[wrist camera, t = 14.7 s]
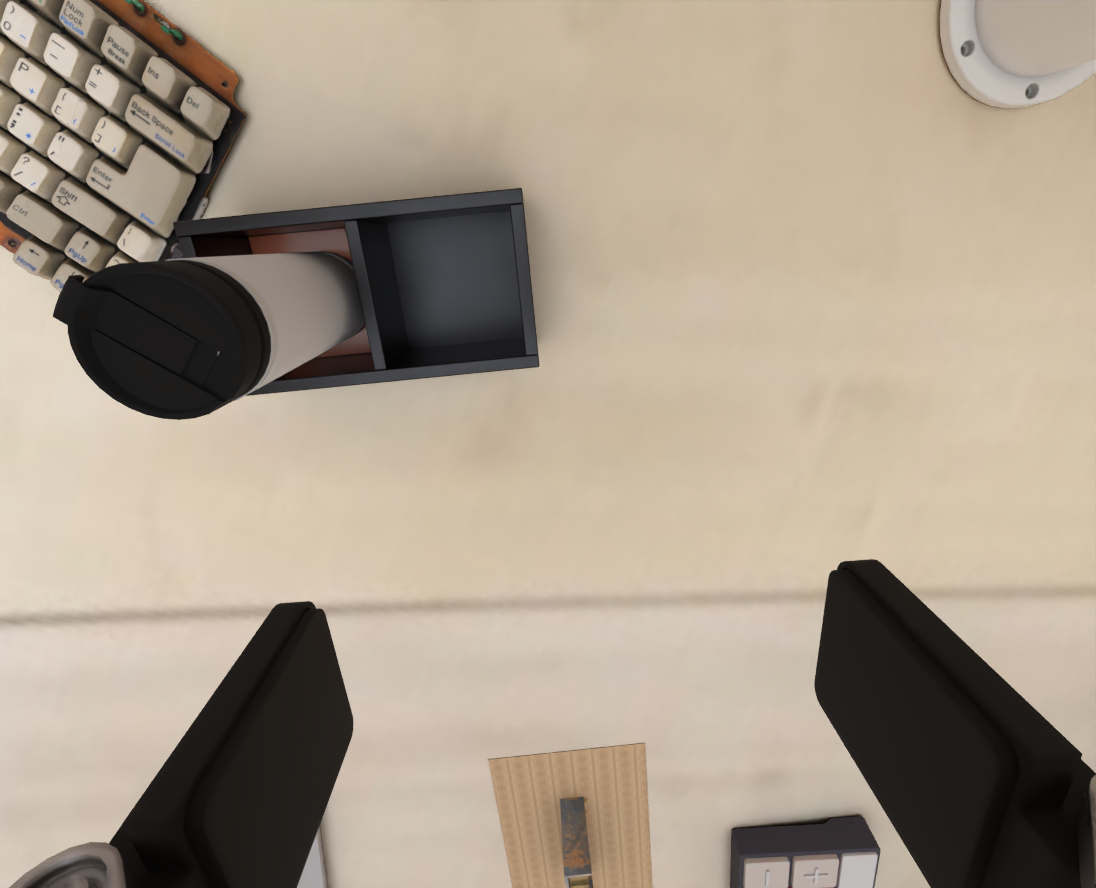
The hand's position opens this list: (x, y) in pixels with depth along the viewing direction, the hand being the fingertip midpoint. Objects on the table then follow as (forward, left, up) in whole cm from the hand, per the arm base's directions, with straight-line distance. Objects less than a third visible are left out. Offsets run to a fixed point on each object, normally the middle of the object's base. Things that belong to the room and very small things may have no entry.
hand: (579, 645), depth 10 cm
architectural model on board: (+55, -1, -34) cm, 65 cm away
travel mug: (-5, -15, -33) cm, 37 cm away
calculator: (+62, +24, -34) cm, 75 cm away
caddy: (-5, -10, -34) cm, 35 cm away
